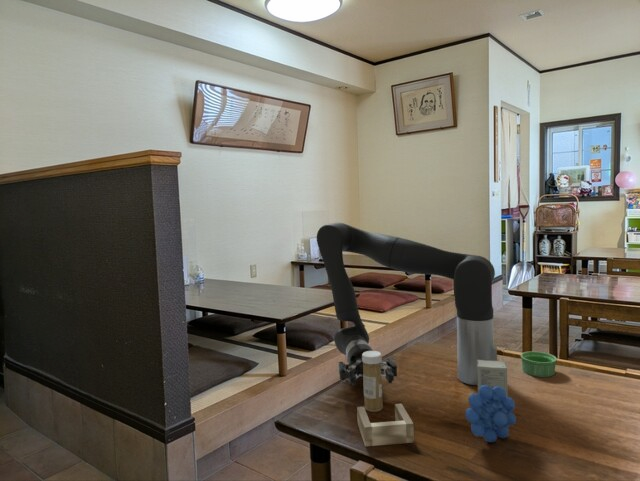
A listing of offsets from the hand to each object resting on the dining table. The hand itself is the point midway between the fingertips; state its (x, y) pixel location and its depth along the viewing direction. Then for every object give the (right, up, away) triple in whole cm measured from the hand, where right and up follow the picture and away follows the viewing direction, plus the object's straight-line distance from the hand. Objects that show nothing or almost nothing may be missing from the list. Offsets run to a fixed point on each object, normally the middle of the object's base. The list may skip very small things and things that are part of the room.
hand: (372, 380), depth 105 cm
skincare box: (+26, -7, -5) cm, 28 cm away
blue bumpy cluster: (+22, -8, -16) cm, 29 cm away
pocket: (+1, -8, -10) cm, 13 cm away
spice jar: (0, -7, +1) cm, 7 cm away
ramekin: (+48, -4, +19) cm, 52 cm away
